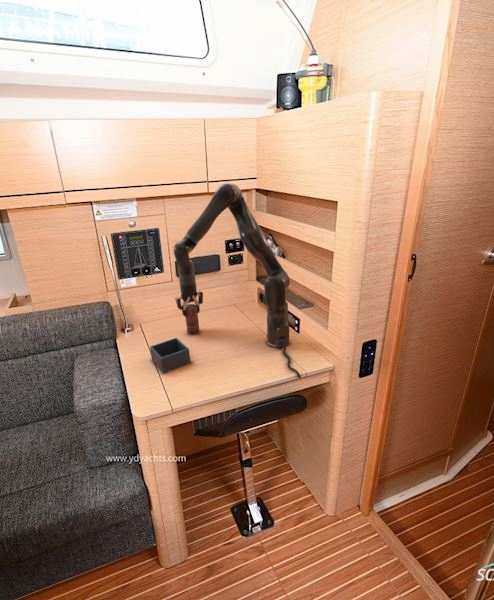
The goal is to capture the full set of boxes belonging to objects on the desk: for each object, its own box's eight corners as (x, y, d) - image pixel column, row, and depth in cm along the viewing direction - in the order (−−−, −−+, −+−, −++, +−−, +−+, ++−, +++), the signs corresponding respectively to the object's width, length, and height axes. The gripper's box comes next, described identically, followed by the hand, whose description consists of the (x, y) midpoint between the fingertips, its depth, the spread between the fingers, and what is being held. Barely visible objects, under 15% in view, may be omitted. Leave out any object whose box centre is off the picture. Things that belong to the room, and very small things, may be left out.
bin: (190, 362, 142) (189, 348, 140) (163, 373, 136) (160, 359, 134) (178, 350, 152) (176, 337, 150) (152, 360, 146) (149, 346, 144)
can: (188, 335, 164) (185, 309, 159) (186, 330, 170) (183, 304, 165) (200, 333, 165) (197, 307, 160) (198, 327, 171) (195, 302, 166)
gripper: (177, 287, 151) (181, 321, 158) (204, 280, 158) (208, 312, 165) (170, 283, 157) (175, 316, 164) (197, 276, 164) (200, 308, 171)
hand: (191, 314), depth 164 cm, fingers closed on can, 6 cm apart
